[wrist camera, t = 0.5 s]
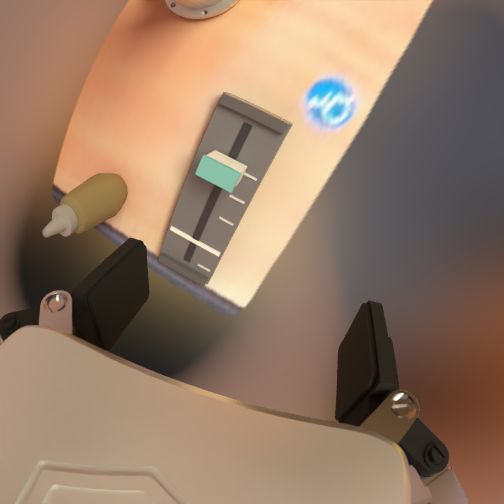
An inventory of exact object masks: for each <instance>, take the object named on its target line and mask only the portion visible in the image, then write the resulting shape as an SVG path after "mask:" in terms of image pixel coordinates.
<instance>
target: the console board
mask: <svg viewBox="0 0 504 504" xmlns="http://www.w3.org/2000/svg"><path fill="white" fill-rule="evenodd" d="M292 125H293V124H292V123H290V122H288V121H286V120H285V119H283V118H281V117H279V116H277V115H275V114H273V113H271V112H269V111H267V110H265V109H263V108H261V107H259V106H256V105H254V104H252V103H250V102H248V101H246V100H244V99H241V98H239V97H237V96H235V95H232V94H230V93H226V92H223V94H222V96H221V99H220V101H219V103H218V105H217V107H216V109H215V112H214V114H213V116H212V118H211V120H210V123H209V125H208V127H207V129H206V132H205V134H204V136H203V139H202V141H201V143H200V146H199V148H198V151H197V153H196V155H195V158H194V160H193V163H192V165H191V168H190V170H189V173H188V176H187V178H186V181H185V183H184V186H183V189H182V191H181V194H180V197H179V199H178V202H177V205H176V208H175V210H174V213H173V216H172V219H171V222H170V225H169V228H168V231H167V234H166V237H165V240H164V243H163V246H162V249H161V252H160V255H159V260H158V261H159V262H161V263H163V264H164V265H166V266H168V267H169V268H171V269H173V270H175V271H177V272H178V273H180V274H182V275H184V276H185V277H187V278H189V279H191V280H193V281H194V282H196V283H198V284H200V285H202V286H204V285H205V283H206V284H208V283H209V281H210V279H211V277H212V275H213V273H214V271H215V269H216V267H217V266H218V264H219V262H220V260H221V258H222V256H223V254H224V252H225V250H226V248H227V246H228V244H229V242H230V240H231V238H232V236H233V234H234V233H235V231H236V229H237V227H238V225H239V223H240V221H241V219H242V217H243V215H244V213H245V212H246V210H247V208H248V206H249V204H250V202H251V200H252V198H253V196H254V195H255V193H256V191H257V189H258V187H259V185H260V183H261V181H262V180H263V178H264V176H265V174H266V172H267V170H268V168H269V167H270V165H271V163H272V161H273V159H274V157H275V156H276V154H277V152H278V150H279V148H280V146H281V145H282V143H283V141H284V139H285V137H286V136H287V134H288V132H289V130H290V128H291V127H292ZM215 150H216V151H218V152H220V153H222V154H224V155H226V156H228V157H230V158H232V159H234V160H236V161H238V162H240V163H242V164H244V165H246V166H248V167H247V169H246V171H245V173H244V175H243V177H242V179H241V181H240V182H239V183H238V184H237V186H236V187H235V188H234V190H233V191H232V193H230V192H228V191H226V190H225V189H223V188H221V187H219V186H217V185H215V184H213V183H211V182H209V181H207V180H205V179H203V178H202V177H200V176H198V175H196V174H195V173H196V171H197V168H198V166H199V163H200V161H201V159H202V156H203V155H207V154H209V153H211V152H213V151H215Z"/></svg>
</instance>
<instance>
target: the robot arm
mask: <svg viewBox="0 0 504 504" xmlns="http://www.w3.org/2000/svg"><path fill="white" fill-rule="evenodd" d="M238 1H239V0H165V2H166V4H167V6H168V8H169V9H170V10H171V11H172V12H174V13H176V14H177V15H179V16H182V17H184V18H188V19H206V18H210V17H214V16H217V15H219V14H222V13H223V12H225V11H227V10H229V9H230V8H231V7H233V6H234V5H235V4H236V3H237V2H238ZM207 12H208V13H207ZM206 13H207V14H206ZM148 297H149V282H148V268H147V250H146V246H145V245H144V243H143V241H141V240H137V239H134V238H129V239H128V240H127V241H126V242H125V243H123V244H122V245H121V246H120V247H119V248H118V249H117V250H115V251H114V252H113V253H112V254H111V255H110V256H109V257H108V258H106V259H105V260H104V261H103V262H102V263H101V264H100V265H99V266H98V267H97V268H96V269H94V270H93V271H92V272H91V273H90V274H89V275H88V276H87V277H86V278H85V279H84V280H83V281H82V282H81V283H80V284H78V285H77V287H75V288H74V289H73V293H72V294H71V295H70V294H69V293H67V292H65V291H54V292H51V293H49V294H48V295H46V296H45V297H44V298H43V300H42V302H41V306H40V307H36V308H31V309H26V310H22V311H17V312H12V313H8V314H6V315H5V316H3V317H2V318H1V319H0V504H468V500H467V497H466V494H465V492H464V490H463V488H462V486H461V484H460V482H459V481H458V479H457V477H456V475H455V473H454V471H453V469H452V467H451V468H448V466H447V464H448V460H449V453H448V450H447V448H446V446H445V445H444V444H443V443H442V442H441V441H440V440H439V439H438V438H437V437H436V436H435V435H434V434H433V433H432V432H431V431H430V430H429V429H428V428H427V427H426V426H425V425H424V424H423V423H422V422H421V421H420V420H419V419H418V418H417V417H418V414H419V404H418V402H417V400H416V398H415V397H414V396H413V395H412V394H411V393H409V392H407V391H404V390H399V383H398V375H397V368H396V361H395V355H394V349H393V343H392V339H391V338H390V337H388V333H387V327H386V322H385V317H384V312H383V307H382V304H381V303H377V302H373V301H368V302H367V303H363V304H362V305H361V307H360V309H359V311H358V313H357V315H356V317H355V319H354V321H353V323H352V325H351V326H350V328H349V330H348V332H347V334H346V335H345V337H344V340H343V341H342V343H341V344H340V346H339V350H338V369H337V395H336V412H335V418H336V420H339V423H338V422H333V421H328V420H322V419H316V418H311V417H306V416H301V415H297V414H292V413H287V412H283V411H278V410H274V409H269V408H265V407H261V406H257V405H253V404H250V403H246V402H242V401H239V400H235V399H231V398H228V397H225V396H222V395H218V394H215V393H212V392H209V391H206V390H203V389H200V388H197V387H193V386H191V385H188V384H185V383H182V382H180V381H177V380H174V379H171V378H169V377H166V376H163V375H161V374H158V373H156V372H153V371H151V370H148V369H146V368H144V367H141V366H138V365H136V364H134V363H131V362H129V361H127V360H125V359H123V358H121V357H118V356H116V355H114V354H112V353H110V352H108V351H106V350H110V349H111V347H112V346H113V345H114V343H115V342H116V340H117V339H118V338H119V337H120V335H121V334H122V332H123V331H124V330H125V328H126V327H127V326H128V324H129V323H130V322H131V320H132V319H133V318H134V316H135V315H136V314H137V312H138V311H139V310H140V308H141V307H142V306H143V305H144V303H145V302H146V301H147V299H148Z"/></svg>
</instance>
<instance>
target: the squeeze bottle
mask: <svg viewBox="0 0 504 504" xmlns="http://www.w3.org/2000/svg"><path fill="white" fill-rule="evenodd" d="M126 197H127V186H126V184H125V181H124V180H123V179H122V178H121V177H120V176H118V175H117V174H96V175H94V176H92V177H91V178H89V179H88V180H86V181H85V182H84V183H82V184H81V185H79V186H78V187H76V188H75V189H74V190H72V191H71V192H69V193H68V194H67V195H65V196H64V197H63V198H62V199H61V201H60V206H58V207H57V208H55V209H54V210H53V212H52V221H51V222H50V223H49V224H48V225H47V226H46V227H45V228H44V229H43V231H42V234H43V236H44V237H45V238H47V237H49V236H52V235H54V234H57V233H60V234H61V235H63V236H69V235H70V234H72V233H76V234H80V233H83V232H85V231H87V230H89V229H90V228H92V227H94V226H96V225H98V224H100V223H102V222H103V221H105V220H107V219H109V218H111V217H113V216H115V215H116V214H117V212H118V211H119V210H120V208H121V207H122V205H123V203H124V202H125V200H126Z"/></svg>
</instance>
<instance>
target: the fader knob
mask: <svg viewBox="0 0 504 504" xmlns="http://www.w3.org/2000/svg"><path fill="white" fill-rule="evenodd" d="M247 167H248V166H246V165H244V164H242V163H240V162H238V161H236V160H234V159H232V158H230V157H228V156H226V155H224V154H222V153H220V152H218V151H216V150H215V151H213V152H211V153H209V154H207V155H203V156H202V159H201V161H200V163H199V166H198V168H197V171H196V173H195V174H196V175H198V176H200V177H202V178H203V179H205V180H207V181H209V182H211V183H213V184H215V185H217V186H219V187H221V188H223V189H225V190H226V191H228V192H230V193H232V191H233V190H234V188H235V187H236V186H237V184H238V183H239V182H240V181H241V179H242V177H243V175H244V173H245V171H246V169H247Z"/></svg>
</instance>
